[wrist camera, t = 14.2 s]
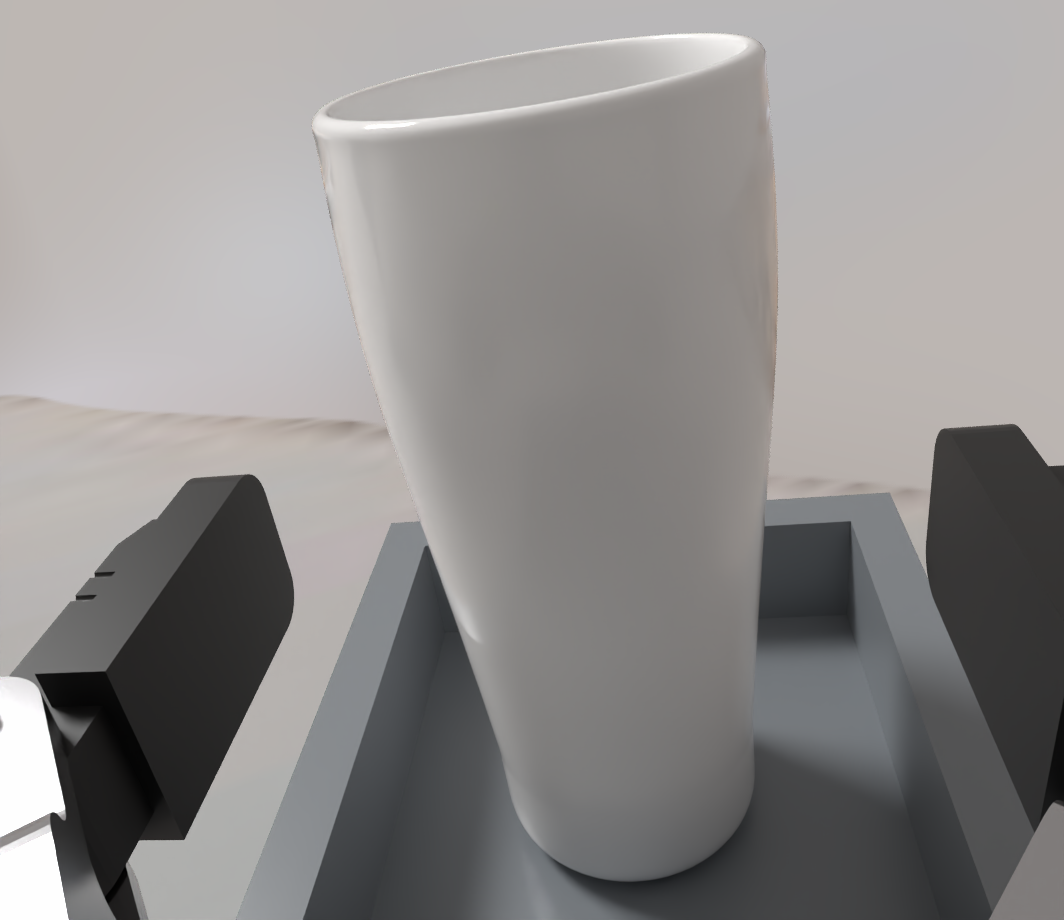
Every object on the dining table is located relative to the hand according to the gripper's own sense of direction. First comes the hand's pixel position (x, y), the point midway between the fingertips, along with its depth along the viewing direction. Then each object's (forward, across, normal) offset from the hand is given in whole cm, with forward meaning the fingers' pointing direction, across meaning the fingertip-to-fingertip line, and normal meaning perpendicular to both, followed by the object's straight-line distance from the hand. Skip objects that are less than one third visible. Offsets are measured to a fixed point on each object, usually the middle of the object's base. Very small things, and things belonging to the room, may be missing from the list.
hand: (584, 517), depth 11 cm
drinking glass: (+5, 0, +11) cm, 12 cm away
